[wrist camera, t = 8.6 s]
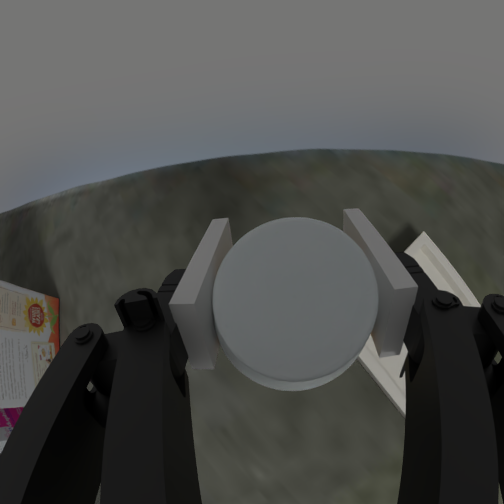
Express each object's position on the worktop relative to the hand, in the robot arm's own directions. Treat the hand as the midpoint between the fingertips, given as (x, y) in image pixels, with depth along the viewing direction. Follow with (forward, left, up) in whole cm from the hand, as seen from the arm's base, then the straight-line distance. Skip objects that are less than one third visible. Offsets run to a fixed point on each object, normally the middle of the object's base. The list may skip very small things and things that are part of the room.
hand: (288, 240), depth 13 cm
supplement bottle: (+2, +3, -4) cm, 5 cm away
